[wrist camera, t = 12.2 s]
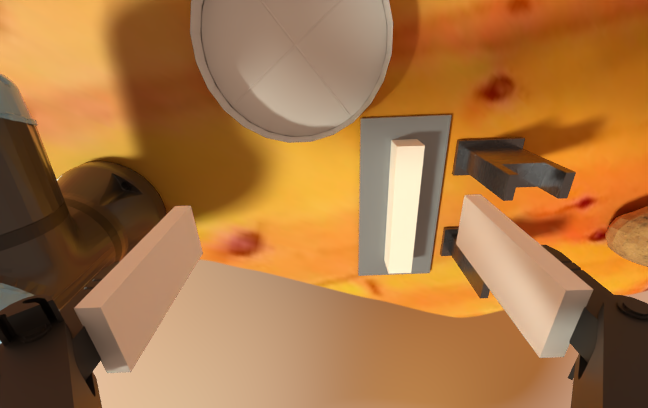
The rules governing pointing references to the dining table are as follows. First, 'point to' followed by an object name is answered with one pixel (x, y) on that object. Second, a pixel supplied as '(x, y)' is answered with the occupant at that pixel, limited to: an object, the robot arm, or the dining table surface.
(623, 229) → the potato
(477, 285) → the post
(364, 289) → the dining table surface
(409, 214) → the rail
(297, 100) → the dish
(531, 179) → the post
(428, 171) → the slate board
